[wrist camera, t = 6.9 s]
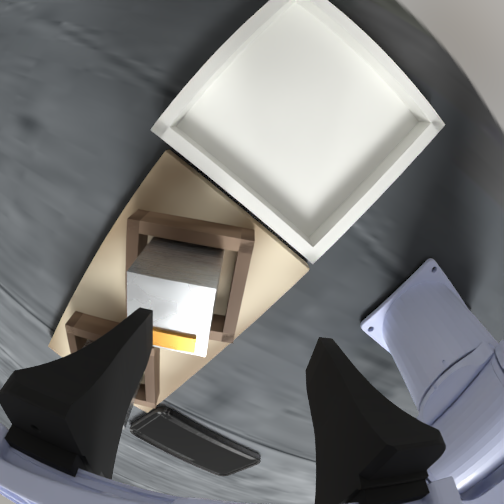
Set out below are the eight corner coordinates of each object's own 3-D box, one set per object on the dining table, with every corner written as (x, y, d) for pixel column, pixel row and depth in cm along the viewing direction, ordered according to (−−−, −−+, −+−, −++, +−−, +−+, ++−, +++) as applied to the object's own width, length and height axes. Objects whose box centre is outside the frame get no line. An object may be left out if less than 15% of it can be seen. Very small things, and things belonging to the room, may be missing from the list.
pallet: (307, 263, 22) (314, 284, 19) (149, 405, 28) (143, 427, 26) (169, 149, 19) (155, 154, 16) (52, 340, 25) (39, 359, 22)
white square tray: (428, 123, 17) (445, 124, 15) (307, 250, 21) (312, 264, 19) (292, -9, 14) (297, -23, 12) (161, 128, 18) (150, 129, 16)
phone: (161, 409, 27) (264, 461, 32) (163, 401, 28) (264, 454, 33) (125, 430, 30) (222, 477, 34) (128, 423, 31) (222, 471, 35)
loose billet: (226, 241, 20) (215, 291, 14) (216, 299, 22) (205, 359, 16) (159, 229, 20) (125, 273, 14) (155, 287, 21) (127, 342, 16)
